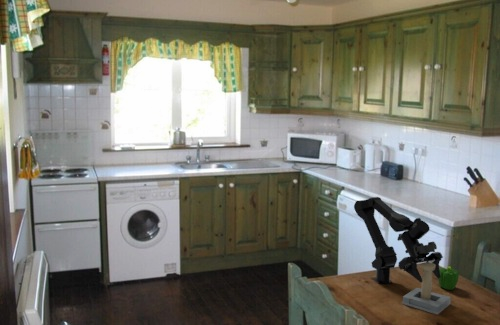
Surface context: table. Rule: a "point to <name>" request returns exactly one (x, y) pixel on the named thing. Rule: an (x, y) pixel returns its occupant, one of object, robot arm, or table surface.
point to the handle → (427, 280)
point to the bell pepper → (448, 278)
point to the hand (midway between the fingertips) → (430, 280)
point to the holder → (432, 306)
